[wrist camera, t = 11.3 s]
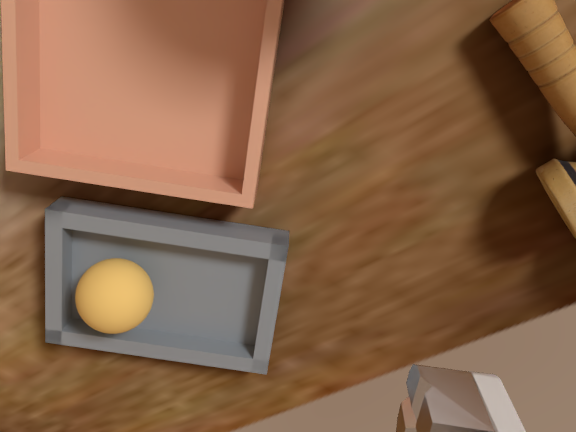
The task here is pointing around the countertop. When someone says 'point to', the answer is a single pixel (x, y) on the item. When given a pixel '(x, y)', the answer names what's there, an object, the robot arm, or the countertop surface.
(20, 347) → the countertop surface
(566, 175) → the kendama
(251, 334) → the tray
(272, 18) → the dish
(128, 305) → the ball
